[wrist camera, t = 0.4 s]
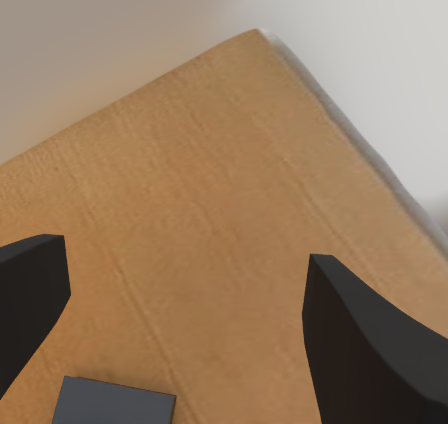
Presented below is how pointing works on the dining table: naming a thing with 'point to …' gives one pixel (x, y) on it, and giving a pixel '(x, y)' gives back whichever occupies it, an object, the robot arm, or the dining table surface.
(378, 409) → the robot arm
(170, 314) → the dining table surface
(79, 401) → the dark grey rectangular slab
